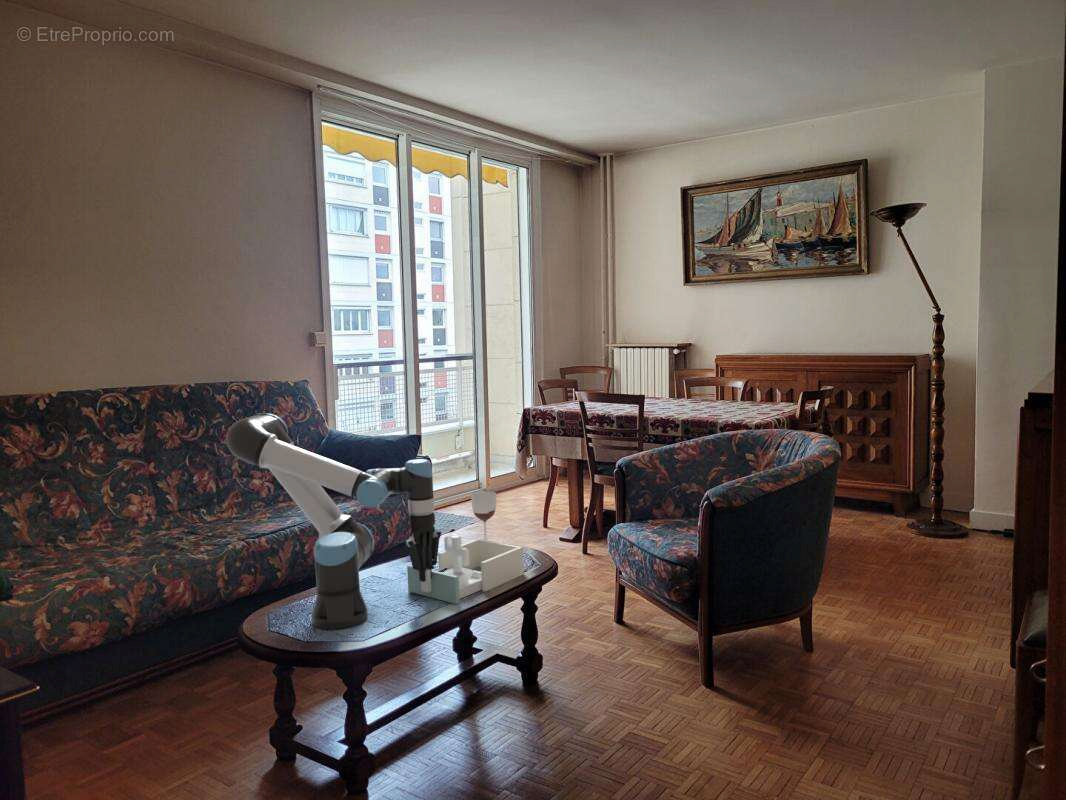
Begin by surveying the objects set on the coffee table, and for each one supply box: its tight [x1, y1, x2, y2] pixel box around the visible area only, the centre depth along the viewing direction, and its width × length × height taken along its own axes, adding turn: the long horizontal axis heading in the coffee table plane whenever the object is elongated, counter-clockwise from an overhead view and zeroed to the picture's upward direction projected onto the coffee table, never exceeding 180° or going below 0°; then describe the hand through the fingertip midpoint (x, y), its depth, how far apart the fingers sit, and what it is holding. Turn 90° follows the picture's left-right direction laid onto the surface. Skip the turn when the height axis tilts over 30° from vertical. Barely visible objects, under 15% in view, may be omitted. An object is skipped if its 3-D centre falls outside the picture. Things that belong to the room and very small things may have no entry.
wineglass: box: [470, 490, 497, 541], centre depth 271 cm, size 9×10×22 cm
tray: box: [406, 564, 482, 605], centre depth 238 cm, size 19×20×8 cm
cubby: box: [437, 538, 525, 593], centre depth 248 cm, size 19×19×9 cm
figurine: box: [443, 534, 475, 586], centre depth 239 cm, size 7×9×15 cm
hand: (426, 590), depth 228 cm, fingers closed
